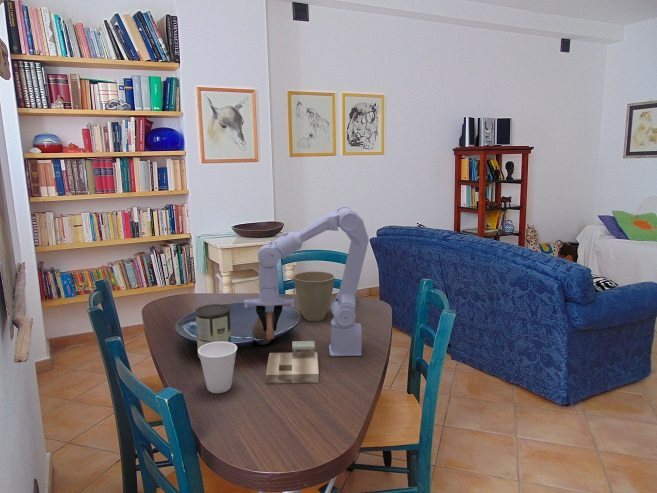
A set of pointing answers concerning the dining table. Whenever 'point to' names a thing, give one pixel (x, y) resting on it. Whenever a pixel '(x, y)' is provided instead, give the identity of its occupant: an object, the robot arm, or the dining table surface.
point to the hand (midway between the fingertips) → (270, 329)
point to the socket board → (292, 368)
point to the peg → (269, 324)
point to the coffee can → (213, 324)
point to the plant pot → (314, 293)
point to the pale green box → (303, 346)
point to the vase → (259, 332)
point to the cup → (218, 365)
